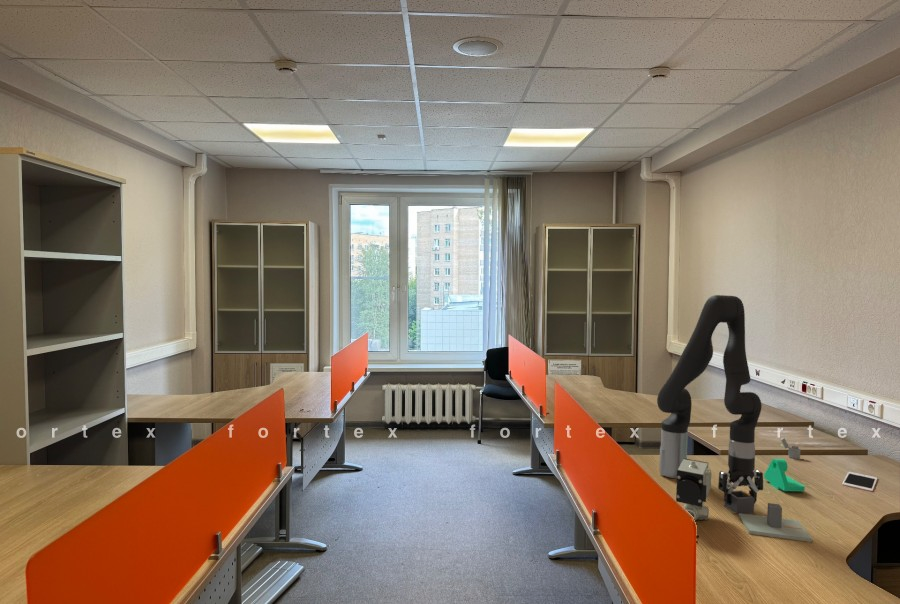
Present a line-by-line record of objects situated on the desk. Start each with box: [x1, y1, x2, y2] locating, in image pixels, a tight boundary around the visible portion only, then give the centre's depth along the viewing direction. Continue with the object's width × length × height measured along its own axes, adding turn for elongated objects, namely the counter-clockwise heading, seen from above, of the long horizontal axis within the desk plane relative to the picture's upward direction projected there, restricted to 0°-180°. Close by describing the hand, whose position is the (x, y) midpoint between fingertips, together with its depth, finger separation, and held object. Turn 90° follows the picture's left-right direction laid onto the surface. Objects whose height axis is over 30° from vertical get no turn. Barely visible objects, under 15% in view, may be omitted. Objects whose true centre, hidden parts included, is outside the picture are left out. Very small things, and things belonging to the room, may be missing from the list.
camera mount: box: [763, 458, 806, 492], centre depth 192 cm, size 12×8×10 cm, turn 0°
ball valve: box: [675, 458, 712, 521], centre depth 165 cm, size 18×8×18 cm, turn 148°
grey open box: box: [724, 490, 755, 515], centre depth 172 cm, size 6×6×5 cm
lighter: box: [780, 437, 801, 460], centre depth 224 cm, size 7×2×8 cm, turn 59°
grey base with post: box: [739, 502, 813, 543], centre depth 159 cm, size 16×12×7 cm
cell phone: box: [841, 471, 878, 493], centre depth 198 cm, size 9×18×1 cm, turn 137°
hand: (740, 503), depth 172 cm, fingers open, 8 cm apart
